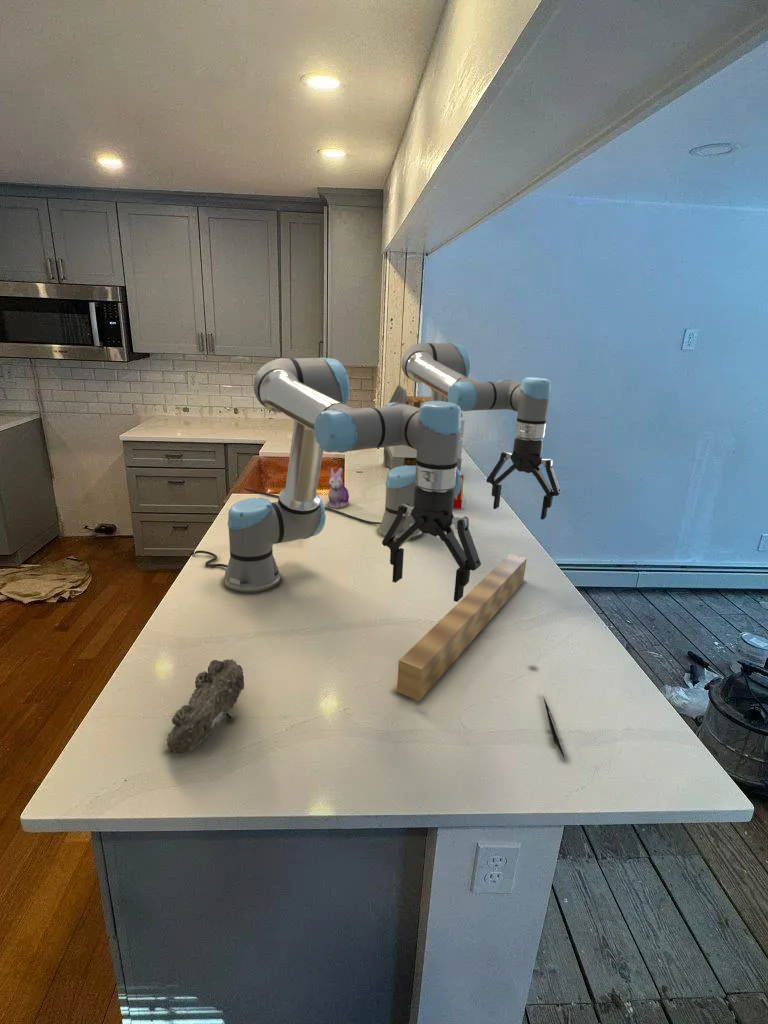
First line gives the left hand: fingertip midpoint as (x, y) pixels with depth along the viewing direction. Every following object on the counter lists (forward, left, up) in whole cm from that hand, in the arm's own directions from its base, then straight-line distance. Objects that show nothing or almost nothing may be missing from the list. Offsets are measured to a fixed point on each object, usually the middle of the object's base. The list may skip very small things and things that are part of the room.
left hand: (426, 589), depth 112 cm
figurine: (-103, +54, -23) cm, 118 cm away
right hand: (-17, +53, 0) cm, 56 cm away
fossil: (-17, -38, -23) cm, 48 cm away
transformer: (-119, +114, -23) cm, 166 cm away
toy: (-85, +97, -23) cm, 131 cm away
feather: (+21, +15, -23) cm, 35 cm away
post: (-9, +27, -23) cm, 36 cm away
